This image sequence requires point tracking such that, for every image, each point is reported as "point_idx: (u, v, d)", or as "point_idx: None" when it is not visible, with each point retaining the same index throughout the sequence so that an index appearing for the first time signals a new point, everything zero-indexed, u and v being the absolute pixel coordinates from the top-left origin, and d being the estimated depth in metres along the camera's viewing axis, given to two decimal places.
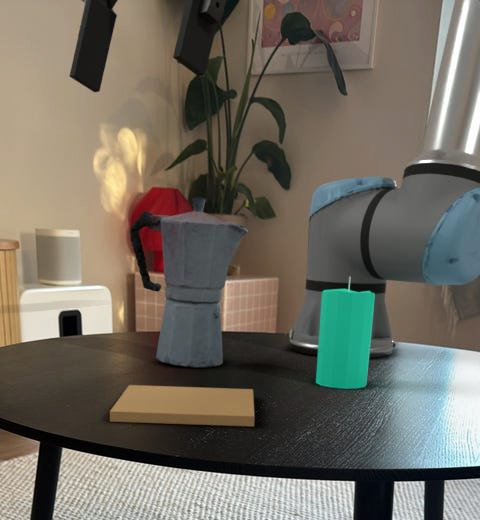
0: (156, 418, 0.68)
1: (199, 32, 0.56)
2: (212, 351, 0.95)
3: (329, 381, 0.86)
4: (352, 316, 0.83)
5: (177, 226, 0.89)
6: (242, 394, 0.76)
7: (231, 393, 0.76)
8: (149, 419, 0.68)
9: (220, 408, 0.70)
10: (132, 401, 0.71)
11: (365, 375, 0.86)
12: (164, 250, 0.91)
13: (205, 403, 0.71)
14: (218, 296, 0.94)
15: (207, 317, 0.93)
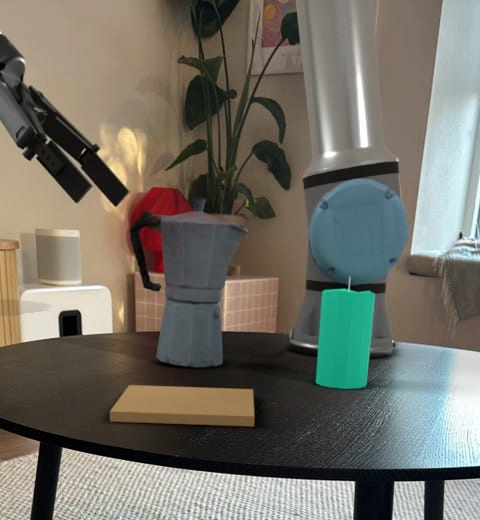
0: (156, 418, 0.68)
1: (68, 178, 0.86)
2: (212, 351, 0.95)
3: (329, 381, 0.86)
4: (352, 316, 0.83)
5: (177, 225, 0.89)
6: (242, 394, 0.76)
7: (231, 393, 0.76)
8: (149, 419, 0.68)
9: (220, 408, 0.70)
10: (132, 401, 0.71)
11: (365, 375, 0.86)
12: (164, 250, 0.91)
13: (205, 403, 0.71)
14: (218, 296, 0.94)
15: (207, 317, 0.93)
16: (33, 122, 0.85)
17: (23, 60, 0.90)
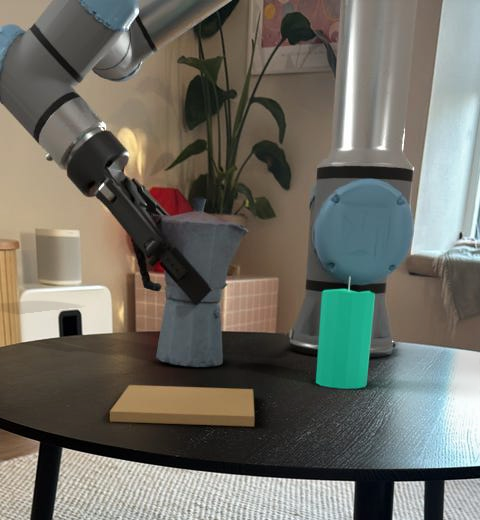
0: (156, 418, 0.68)
1: (189, 282, 0.90)
2: (212, 351, 0.95)
3: (329, 381, 0.86)
4: (352, 316, 0.83)
5: (177, 225, 0.89)
6: (242, 394, 0.76)
7: (231, 393, 0.76)
8: (149, 419, 0.68)
9: (220, 408, 0.70)
10: (132, 401, 0.71)
11: (365, 375, 0.86)
12: None
13: (205, 403, 0.71)
14: (218, 296, 0.94)
15: (207, 317, 0.93)
16: (155, 229, 0.88)
17: (128, 155, 0.91)
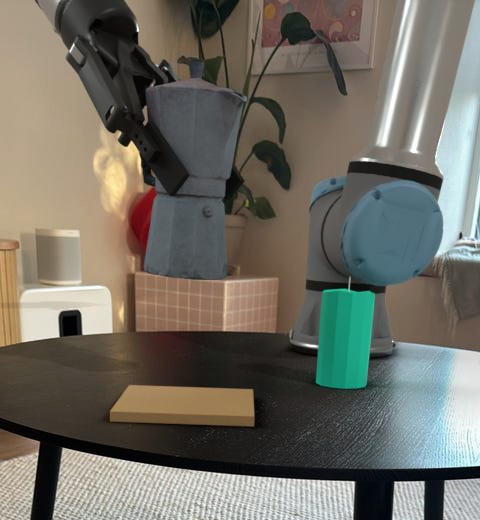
0: (156, 418, 0.68)
1: (163, 166, 0.72)
2: (199, 260, 0.76)
3: (329, 381, 0.86)
4: (352, 316, 0.83)
5: (155, 93, 0.71)
6: (242, 394, 0.76)
7: (231, 393, 0.76)
8: (149, 419, 0.68)
9: (220, 408, 0.70)
10: (132, 401, 0.71)
11: (365, 375, 0.86)
12: None
13: (205, 403, 0.71)
14: (211, 189, 0.74)
15: (192, 214, 0.74)
16: (129, 98, 0.72)
17: (129, 15, 0.76)
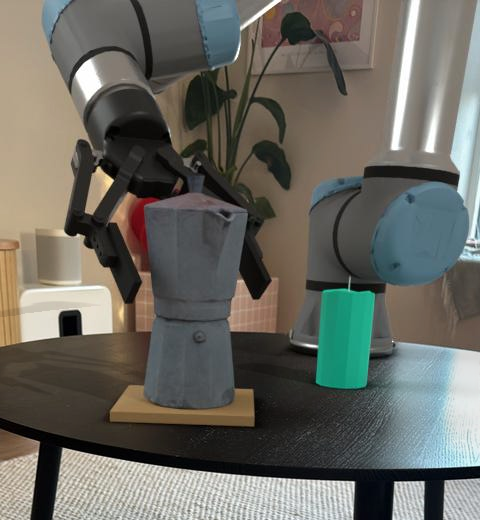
0: (156, 418, 0.68)
1: (119, 271, 0.64)
2: (188, 388, 0.68)
3: (329, 381, 0.86)
4: (352, 316, 0.83)
5: None
6: (242, 394, 0.76)
7: None
8: (149, 419, 0.68)
9: (220, 408, 0.70)
10: (132, 401, 0.71)
11: (365, 375, 0.86)
12: None
13: None
14: (203, 313, 0.66)
15: (181, 340, 0.67)
16: (101, 200, 0.66)
17: (152, 117, 0.70)
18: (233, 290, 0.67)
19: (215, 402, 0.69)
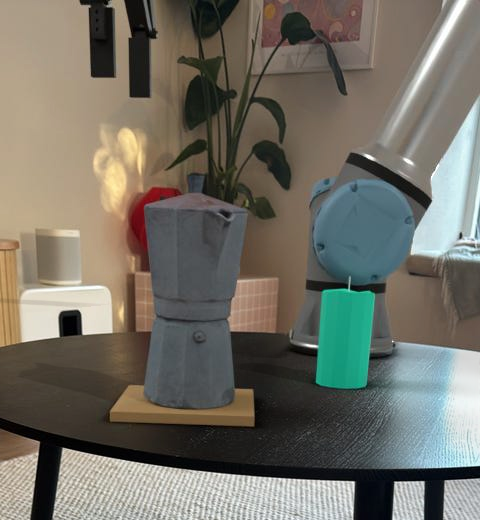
0: (156, 418, 0.68)
1: (100, 51, 0.82)
2: (188, 388, 0.68)
3: (329, 381, 0.86)
4: (352, 316, 0.83)
5: (144, 212, 0.65)
6: (242, 394, 0.76)
7: None
8: (149, 419, 0.68)
9: (220, 408, 0.70)
10: (132, 401, 0.71)
11: (365, 375, 0.86)
12: None
13: None
14: (203, 313, 0.66)
15: (181, 340, 0.67)
16: None
17: None
18: (233, 290, 0.67)
19: (215, 402, 0.69)
